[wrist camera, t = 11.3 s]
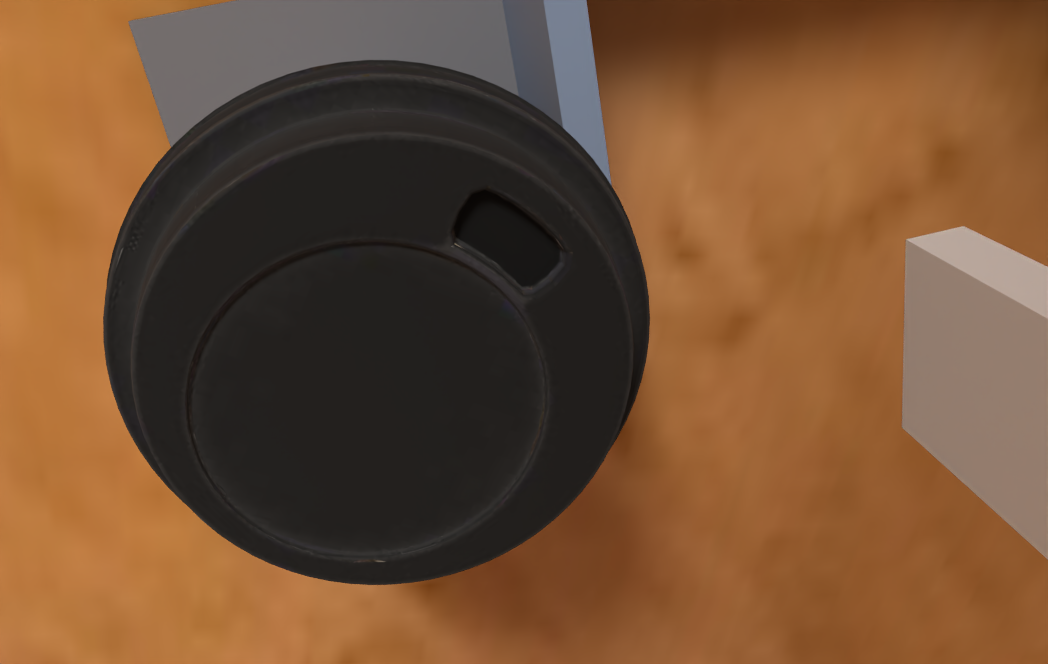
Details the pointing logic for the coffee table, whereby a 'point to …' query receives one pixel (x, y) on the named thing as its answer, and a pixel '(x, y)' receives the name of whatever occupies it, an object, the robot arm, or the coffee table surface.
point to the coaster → (308, 45)
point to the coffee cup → (376, 321)
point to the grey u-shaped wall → (558, 67)
